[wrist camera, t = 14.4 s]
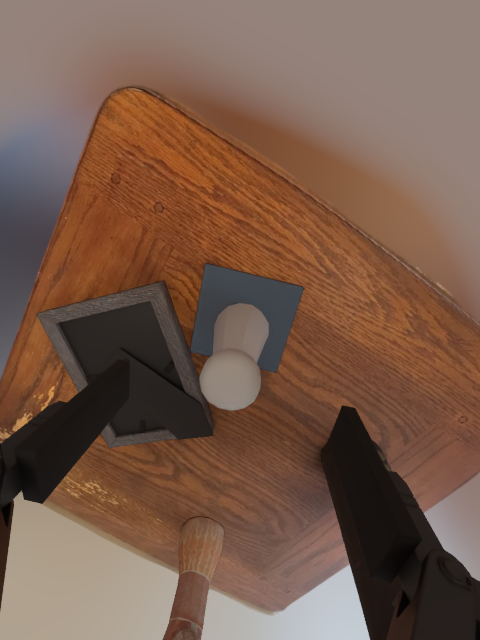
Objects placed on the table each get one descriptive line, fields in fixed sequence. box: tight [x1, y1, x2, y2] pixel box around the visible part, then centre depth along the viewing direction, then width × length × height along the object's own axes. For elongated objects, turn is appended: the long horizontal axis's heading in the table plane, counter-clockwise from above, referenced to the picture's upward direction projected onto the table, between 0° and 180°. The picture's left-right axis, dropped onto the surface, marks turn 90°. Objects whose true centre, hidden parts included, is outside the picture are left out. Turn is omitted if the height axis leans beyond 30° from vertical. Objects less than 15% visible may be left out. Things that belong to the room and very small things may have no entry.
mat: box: [190, 263, 304, 373], centre depth 28 cm, size 11×11×1 cm
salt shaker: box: [199, 303, 269, 411], centre depth 22 cm, size 6×6×13 cm
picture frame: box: [36, 281, 215, 448], centre depth 31 cm, size 16×2×21 cm
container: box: [321, 441, 403, 640], centre depth 25 cm, size 9×9×20 cm
